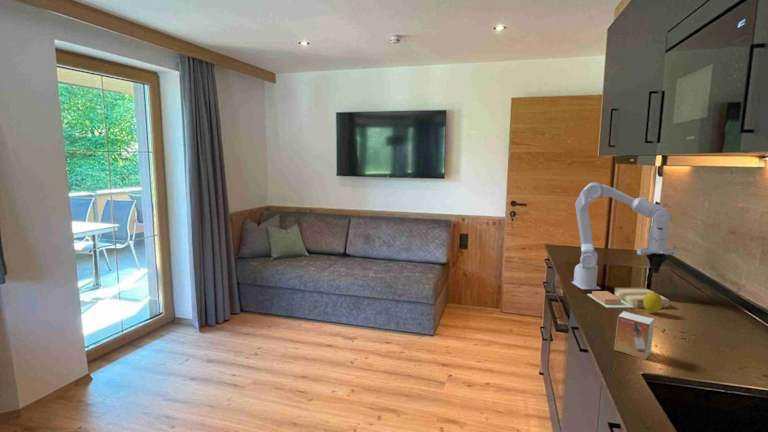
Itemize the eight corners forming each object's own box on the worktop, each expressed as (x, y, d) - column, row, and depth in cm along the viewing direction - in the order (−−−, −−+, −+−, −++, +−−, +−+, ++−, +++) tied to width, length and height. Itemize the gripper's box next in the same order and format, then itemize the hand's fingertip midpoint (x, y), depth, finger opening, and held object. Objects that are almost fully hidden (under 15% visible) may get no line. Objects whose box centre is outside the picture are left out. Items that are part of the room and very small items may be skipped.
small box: (613, 350, 117) (617, 315, 115) (619, 344, 121) (623, 310, 119) (645, 360, 111) (649, 324, 110) (651, 353, 115) (655, 318, 114)
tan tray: (614, 294, 163) (615, 287, 163) (643, 294, 164) (644, 287, 163) (636, 307, 150) (637, 300, 149) (668, 307, 150) (669, 300, 149)
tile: (607, 291, 160) (606, 296, 161) (592, 291, 160) (591, 296, 161) (621, 299, 152) (620, 304, 152) (605, 299, 151) (604, 304, 152)
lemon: (657, 317, 141) (660, 295, 140) (639, 312, 145) (642, 291, 144) (663, 313, 144) (665, 292, 143) (645, 309, 148) (647, 288, 147)
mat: (587, 294, 163) (587, 293, 163) (611, 294, 163) (611, 293, 163) (607, 308, 149) (607, 307, 149) (634, 307, 149) (634, 306, 149)
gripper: (647, 240, 154) (643, 275, 156) (684, 240, 154) (680, 275, 157) (635, 236, 161) (631, 270, 163) (670, 236, 161) (667, 270, 164)
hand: (654, 272), depth 160 cm, fingers closed
